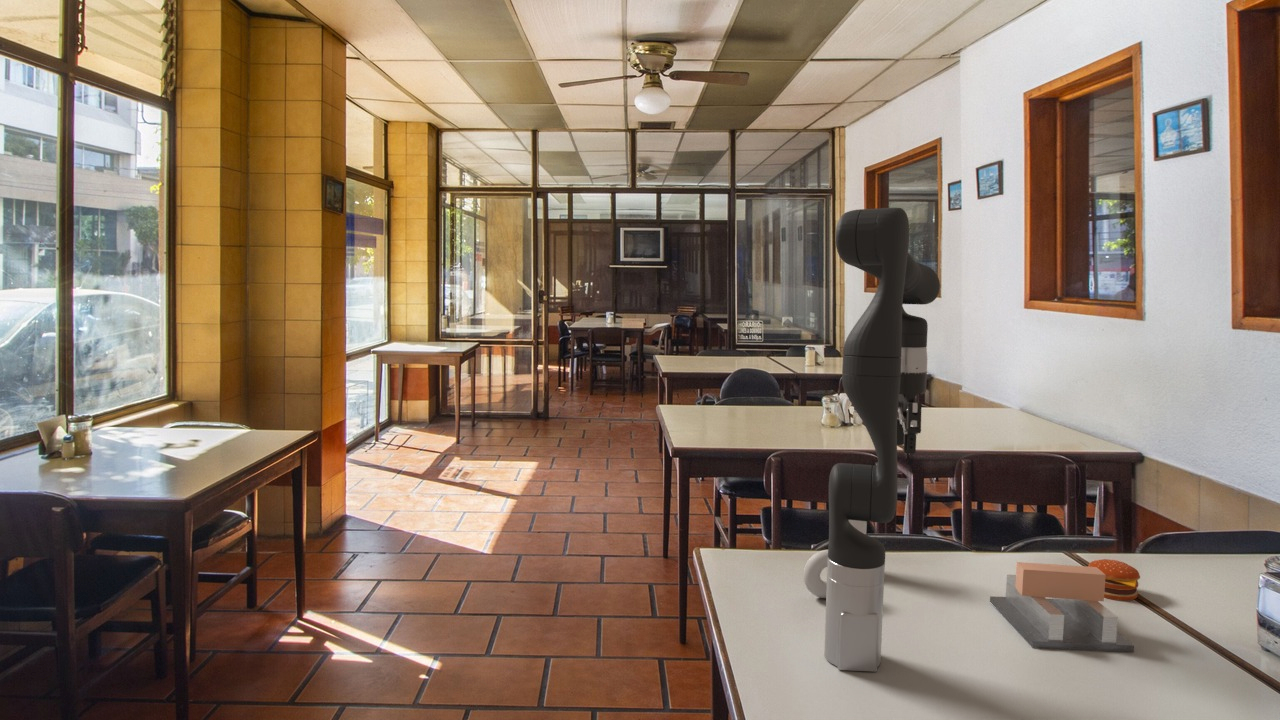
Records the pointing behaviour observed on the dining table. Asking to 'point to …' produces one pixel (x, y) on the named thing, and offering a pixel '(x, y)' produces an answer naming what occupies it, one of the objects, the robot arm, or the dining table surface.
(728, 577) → the dining table surface
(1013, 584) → the aluminium rail channel
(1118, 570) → the hamburger
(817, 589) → the donut
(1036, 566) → the clay strip
